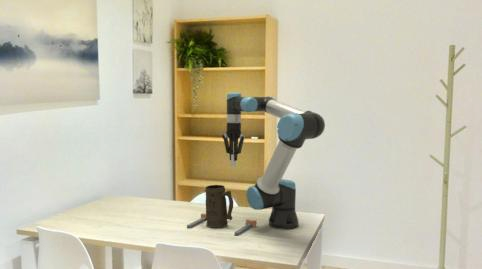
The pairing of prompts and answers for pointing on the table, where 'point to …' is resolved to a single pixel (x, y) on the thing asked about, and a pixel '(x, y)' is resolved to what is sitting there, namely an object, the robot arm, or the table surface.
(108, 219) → the table surface
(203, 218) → the grey and brown bars
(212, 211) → the beer stein
